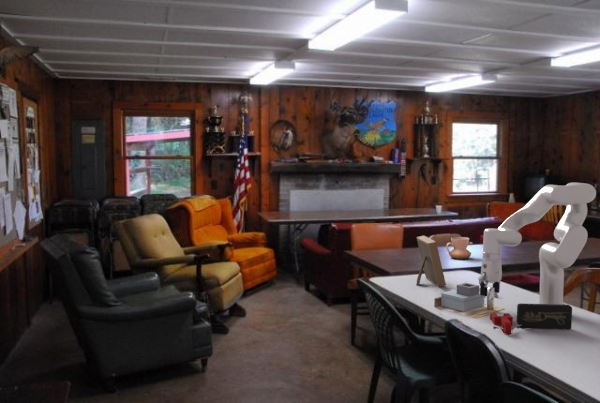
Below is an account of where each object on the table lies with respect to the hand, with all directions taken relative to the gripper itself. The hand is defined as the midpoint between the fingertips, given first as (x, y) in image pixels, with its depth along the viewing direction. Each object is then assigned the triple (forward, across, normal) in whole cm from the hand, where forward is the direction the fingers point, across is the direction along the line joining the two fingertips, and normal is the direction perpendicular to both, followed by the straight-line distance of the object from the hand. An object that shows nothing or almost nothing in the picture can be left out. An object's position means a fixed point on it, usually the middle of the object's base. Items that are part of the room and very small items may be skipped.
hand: (489, 293), depth 235 cm
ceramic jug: (+8, +100, +85) cm, 131 cm away
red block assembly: (+9, -15, -16) cm, 24 cm away
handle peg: (+7, 0, 0) cm, 7 cm away
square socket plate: (+7, -5, +11) cm, 14 cm away
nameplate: (+9, -2, -26) cm, 27 cm away
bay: (+9, -4, +7) cm, 12 cm away
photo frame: (+9, +24, +54) cm, 60 cm away
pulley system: (+9, +22, +18) cm, 30 cm away
